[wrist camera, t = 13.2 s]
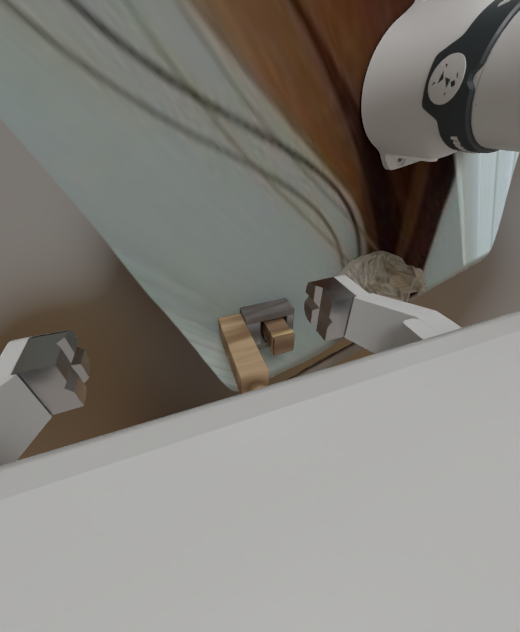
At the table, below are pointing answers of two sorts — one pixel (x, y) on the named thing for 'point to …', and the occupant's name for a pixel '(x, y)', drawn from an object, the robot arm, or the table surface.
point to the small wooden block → (278, 335)
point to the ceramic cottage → (385, 275)
